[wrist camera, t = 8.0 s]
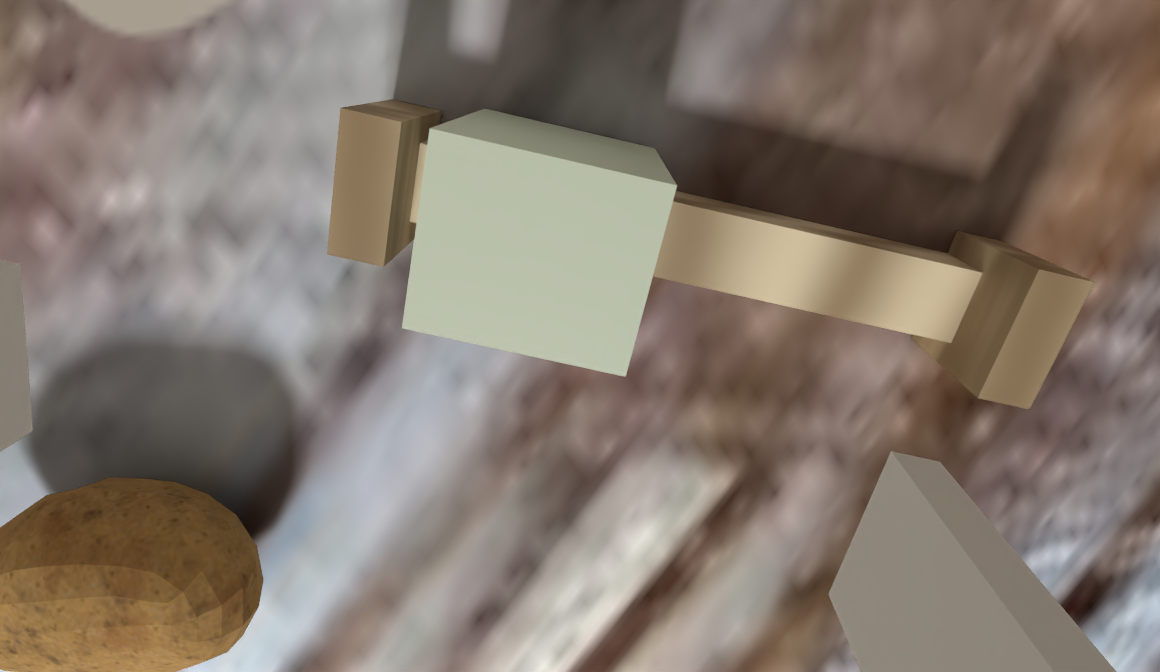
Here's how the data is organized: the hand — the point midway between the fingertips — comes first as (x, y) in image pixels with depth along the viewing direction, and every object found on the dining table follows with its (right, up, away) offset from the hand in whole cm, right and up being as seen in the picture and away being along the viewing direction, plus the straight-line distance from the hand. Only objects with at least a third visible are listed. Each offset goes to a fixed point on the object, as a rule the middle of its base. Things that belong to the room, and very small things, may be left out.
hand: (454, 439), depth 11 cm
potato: (-20, -8, +26) cm, 34 cm away
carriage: (+1, +7, +19) cm, 20 cm away
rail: (+6, +6, +19) cm, 21 cm away
